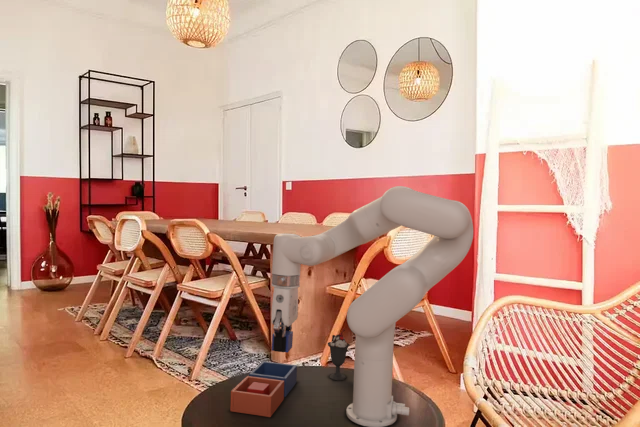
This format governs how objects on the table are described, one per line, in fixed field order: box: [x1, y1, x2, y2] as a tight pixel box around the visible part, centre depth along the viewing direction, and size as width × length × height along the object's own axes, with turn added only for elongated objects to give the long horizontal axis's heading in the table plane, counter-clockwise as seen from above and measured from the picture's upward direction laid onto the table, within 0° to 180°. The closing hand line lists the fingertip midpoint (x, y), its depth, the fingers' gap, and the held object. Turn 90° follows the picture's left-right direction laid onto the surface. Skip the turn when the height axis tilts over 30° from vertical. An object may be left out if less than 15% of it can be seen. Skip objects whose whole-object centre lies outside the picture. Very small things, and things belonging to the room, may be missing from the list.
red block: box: [247, 382, 269, 395], centre depth 121 cm, size 4×4×4 cm
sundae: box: [327, 328, 351, 381], centre depth 141 cm, size 7×7×15 cm
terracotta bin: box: [230, 375, 285, 418], centre depth 121 cm, size 11×11×5 cm
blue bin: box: [248, 360, 298, 398], centre depth 133 cm, size 11×11×5 cm
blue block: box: [271, 330, 294, 353], centre depth 125 cm, size 4×4×4 cm
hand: (282, 347), depth 125 cm, fingers closed on blue block, 4 cm apart
